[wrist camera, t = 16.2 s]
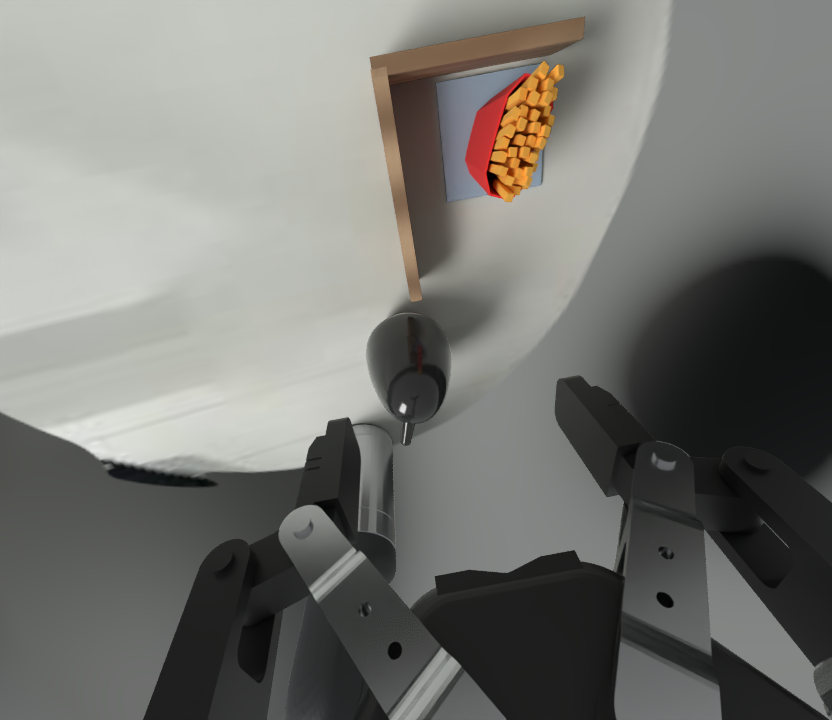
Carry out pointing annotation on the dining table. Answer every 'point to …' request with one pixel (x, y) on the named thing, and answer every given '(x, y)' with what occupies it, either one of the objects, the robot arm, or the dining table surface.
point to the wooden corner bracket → (446, 62)
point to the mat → (469, 126)
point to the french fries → (513, 133)
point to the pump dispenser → (409, 368)
